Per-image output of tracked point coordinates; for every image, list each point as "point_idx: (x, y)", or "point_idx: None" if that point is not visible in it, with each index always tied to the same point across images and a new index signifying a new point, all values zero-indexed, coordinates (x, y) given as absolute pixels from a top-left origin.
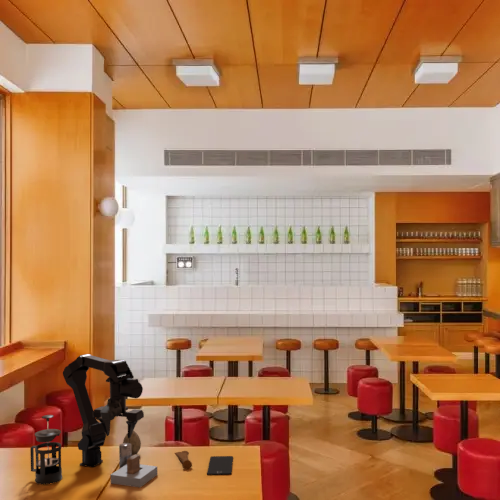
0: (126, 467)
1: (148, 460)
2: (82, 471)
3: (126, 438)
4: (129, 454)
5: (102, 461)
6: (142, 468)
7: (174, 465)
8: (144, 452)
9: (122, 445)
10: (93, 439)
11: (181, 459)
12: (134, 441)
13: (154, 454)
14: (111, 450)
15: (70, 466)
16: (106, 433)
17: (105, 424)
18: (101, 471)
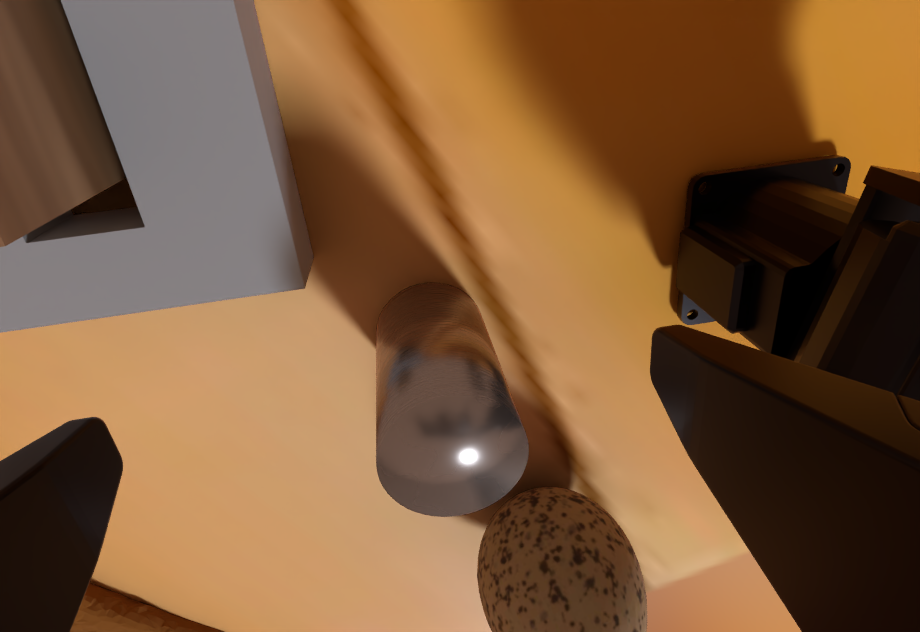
0: (214, 163)
1: (337, 490)
2: (741, 41)
3: (599, 598)
4: (377, 392)
5: (678, 308)
6: None
7: None
8: None
9: (473, 432)
10: (911, 257)
11: None
12: (510, 599)
13: (382, 579)
14: None
15: (916, 100)
16: (704, 342)
17: (916, 484)
18: (556, 128)
